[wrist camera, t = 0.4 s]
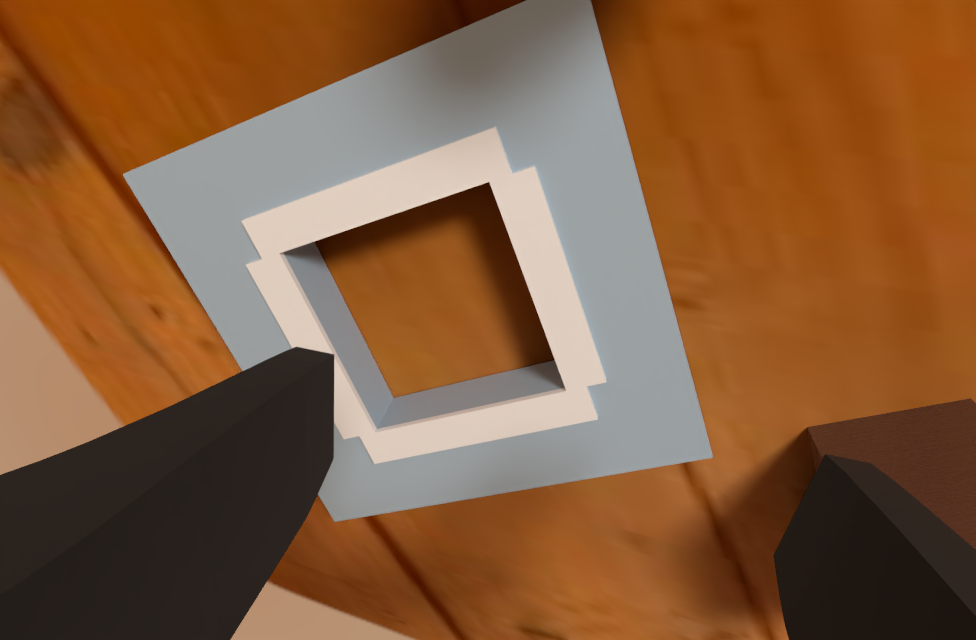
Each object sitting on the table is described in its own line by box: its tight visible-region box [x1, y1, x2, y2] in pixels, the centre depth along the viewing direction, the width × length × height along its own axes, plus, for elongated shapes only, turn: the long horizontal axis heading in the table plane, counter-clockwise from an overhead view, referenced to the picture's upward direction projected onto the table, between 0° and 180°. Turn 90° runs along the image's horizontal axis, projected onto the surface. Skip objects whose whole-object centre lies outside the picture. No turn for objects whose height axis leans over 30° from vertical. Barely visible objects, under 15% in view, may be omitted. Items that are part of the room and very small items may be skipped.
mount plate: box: [123, 0, 713, 522], centre depth 18 cm, size 14×14×2 cm
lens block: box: [807, 399, 976, 549], centre depth 16 cm, size 4×4×7 cm
